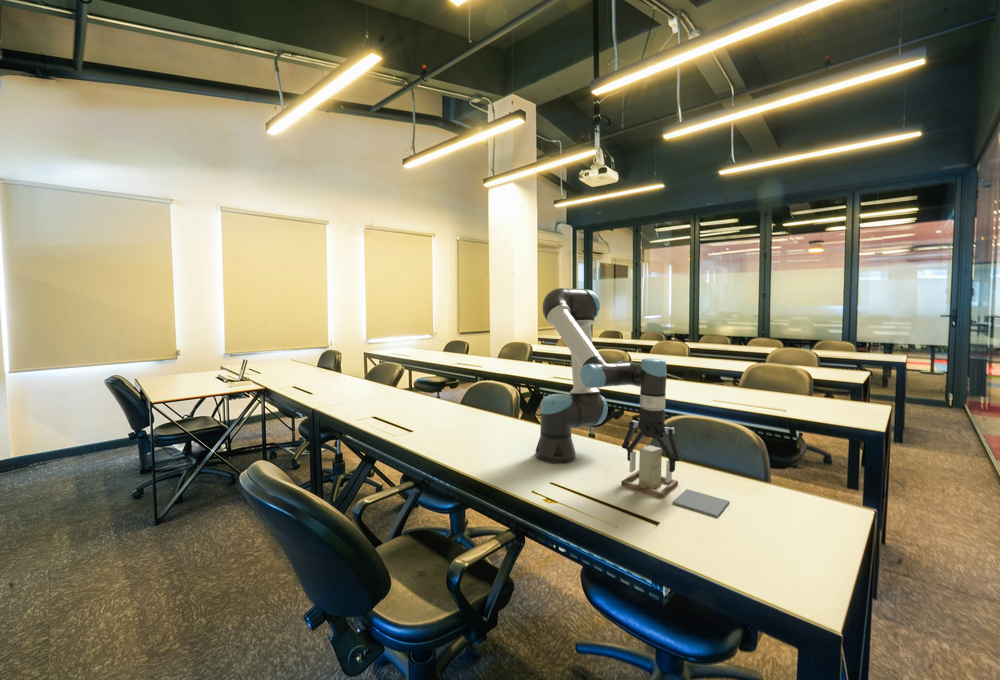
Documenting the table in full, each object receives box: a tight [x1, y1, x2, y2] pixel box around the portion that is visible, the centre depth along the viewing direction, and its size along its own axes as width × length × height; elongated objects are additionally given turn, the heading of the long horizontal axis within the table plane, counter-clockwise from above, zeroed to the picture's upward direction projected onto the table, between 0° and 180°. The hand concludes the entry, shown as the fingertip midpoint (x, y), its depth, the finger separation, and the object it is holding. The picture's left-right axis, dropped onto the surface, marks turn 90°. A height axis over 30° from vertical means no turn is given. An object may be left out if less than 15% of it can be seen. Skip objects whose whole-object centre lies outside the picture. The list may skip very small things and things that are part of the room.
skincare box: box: [638, 444, 663, 490], centre depth 133 cm, size 6×4×12 cm
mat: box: [671, 488, 730, 518], centre depth 121 cm, size 12×12×1 cm
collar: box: [620, 469, 679, 499], centre depth 133 cm, size 13×13×2 cm
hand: (650, 476), depth 133 cm, fingers open, 11 cm apart
